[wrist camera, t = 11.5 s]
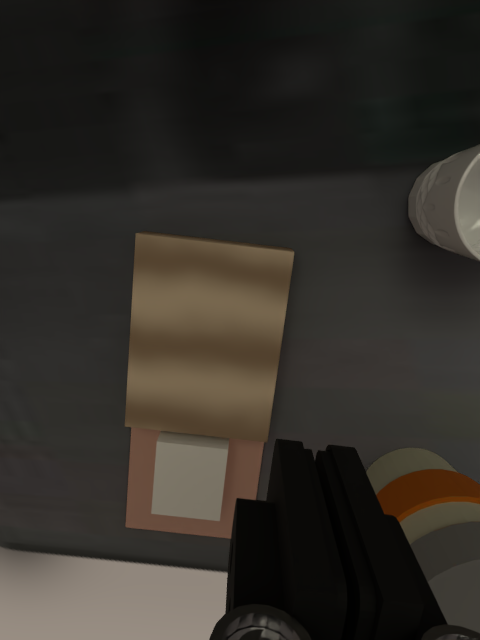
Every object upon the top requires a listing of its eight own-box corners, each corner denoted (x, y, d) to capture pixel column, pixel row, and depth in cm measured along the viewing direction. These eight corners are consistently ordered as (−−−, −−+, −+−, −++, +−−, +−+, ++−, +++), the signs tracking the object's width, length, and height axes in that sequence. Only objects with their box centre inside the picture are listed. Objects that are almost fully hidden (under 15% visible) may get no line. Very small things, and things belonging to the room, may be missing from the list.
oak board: (144, 231, 37) (135, 233, 34) (290, 248, 37) (294, 252, 34) (133, 410, 41) (124, 426, 38) (265, 425, 41) (267, 442, 38)
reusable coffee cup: (486, 529, 43) (606, 692, 29) (357, 560, 45) (411, 732, 30) (462, 413, 41) (582, 530, 26) (325, 450, 42) (366, 581, 27)
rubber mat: (133, 415, 41) (132, 417, 41) (265, 430, 41) (265, 432, 41) (126, 524, 44) (125, 527, 44) (250, 537, 44) (250, 540, 44)
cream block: (163, 424, 41) (156, 441, 38) (229, 432, 41) (228, 449, 38) (157, 492, 43) (151, 513, 40) (221, 499, 43) (219, 521, 40)
